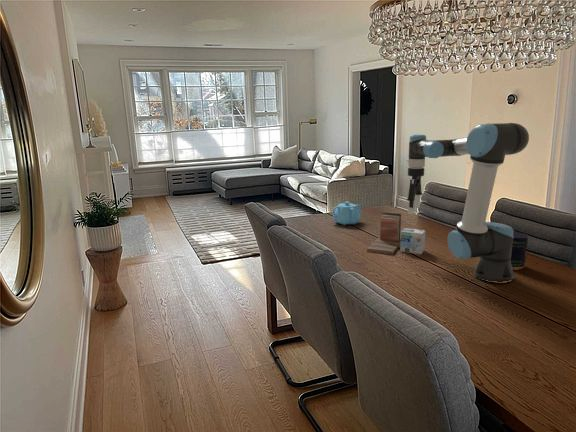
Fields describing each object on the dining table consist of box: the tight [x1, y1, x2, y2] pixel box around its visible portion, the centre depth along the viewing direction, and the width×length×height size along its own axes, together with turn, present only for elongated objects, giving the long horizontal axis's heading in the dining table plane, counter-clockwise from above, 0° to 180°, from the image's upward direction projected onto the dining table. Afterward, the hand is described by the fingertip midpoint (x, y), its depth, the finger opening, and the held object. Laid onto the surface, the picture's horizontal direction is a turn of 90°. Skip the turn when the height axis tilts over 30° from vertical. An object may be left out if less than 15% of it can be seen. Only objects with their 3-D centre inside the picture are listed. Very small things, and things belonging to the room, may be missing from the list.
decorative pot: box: [331, 201, 362, 226], centre depth 275 cm, size 16×16×14 cm
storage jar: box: [511, 231, 529, 267], centre depth 197 cm, size 10×10×15 cm
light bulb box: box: [399, 227, 426, 255], centre depth 221 cm, size 11×7×11 cm, turn 62°
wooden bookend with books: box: [366, 211, 402, 256], centre depth 228 cm, size 22×13×16 cm, turn 153°
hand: (414, 210), depth 217 cm, fingers open, 13 cm apart
